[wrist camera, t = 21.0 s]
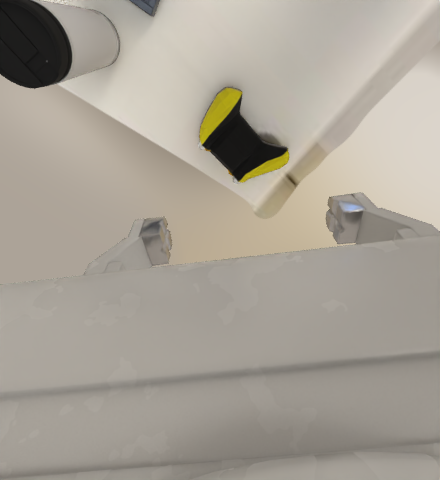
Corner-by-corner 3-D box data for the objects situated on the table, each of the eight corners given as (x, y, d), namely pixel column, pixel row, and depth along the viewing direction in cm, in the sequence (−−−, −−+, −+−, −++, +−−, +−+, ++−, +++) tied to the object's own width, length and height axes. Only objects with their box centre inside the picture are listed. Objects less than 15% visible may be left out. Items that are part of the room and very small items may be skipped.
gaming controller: (230, 75, 40) (184, 125, 44) (233, 81, 36) (182, 135, 40) (288, 148, 47) (244, 185, 51) (297, 160, 43) (248, 200, 47)
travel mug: (93, -6, 34) (-5, -38, 19) (129, 48, 38) (74, 61, 22) (59, 27, 36) (-56, 24, 20) (97, 76, 40) (24, 106, 24)
